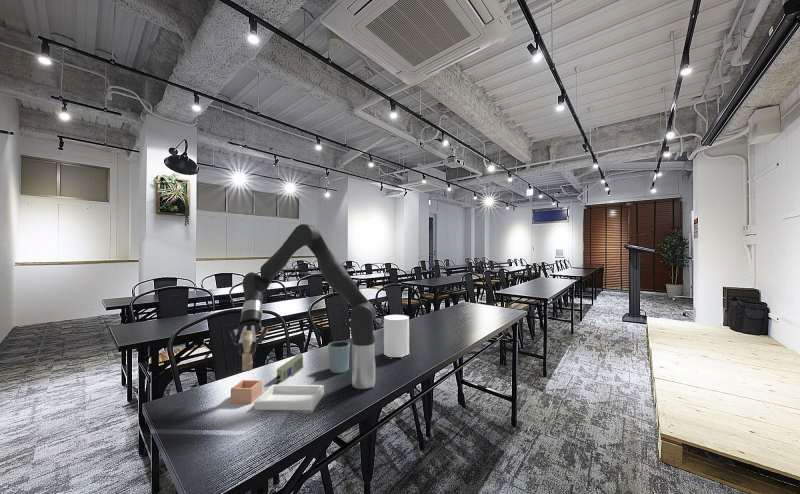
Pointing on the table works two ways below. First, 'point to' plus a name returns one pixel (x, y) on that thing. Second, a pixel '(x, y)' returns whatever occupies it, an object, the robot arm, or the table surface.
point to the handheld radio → (289, 368)
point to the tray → (290, 398)
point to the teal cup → (339, 356)
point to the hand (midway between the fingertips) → (246, 353)
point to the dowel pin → (246, 351)
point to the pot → (246, 391)
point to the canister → (396, 335)
